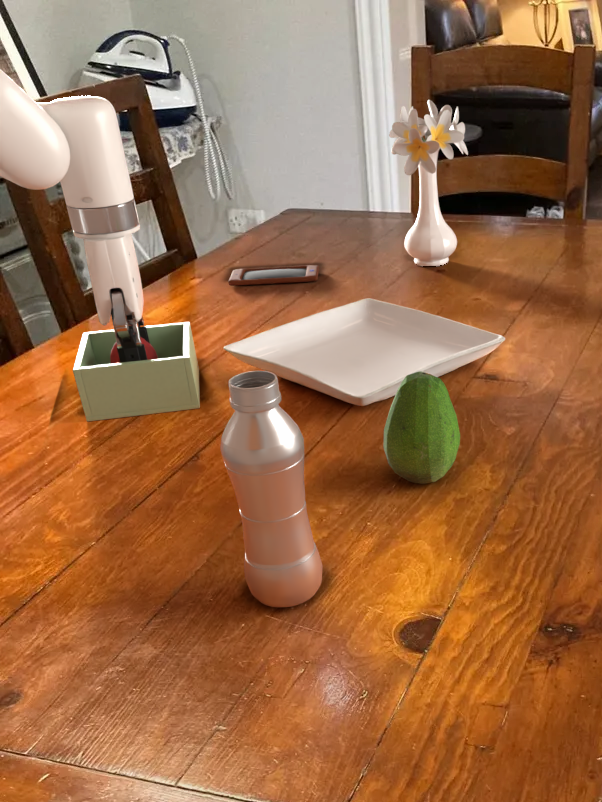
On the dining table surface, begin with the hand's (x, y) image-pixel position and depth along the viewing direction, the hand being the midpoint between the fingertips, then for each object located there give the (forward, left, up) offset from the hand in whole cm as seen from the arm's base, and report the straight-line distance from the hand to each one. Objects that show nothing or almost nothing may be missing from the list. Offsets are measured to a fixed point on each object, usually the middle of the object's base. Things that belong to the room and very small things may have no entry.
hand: (138, 366), depth 118 cm
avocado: (+30, -33, -4) cm, 45 cm away
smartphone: (+20, +46, -4) cm, 50 cm away
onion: (0, 0, -3) cm, 3 cm away
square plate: (+29, +1, -4) cm, 29 cm away
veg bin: (0, 0, -4) cm, 4 cm away
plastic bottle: (+14, -51, -4) cm, 53 cm away
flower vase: (+48, +46, -4) cm, 67 cm away
